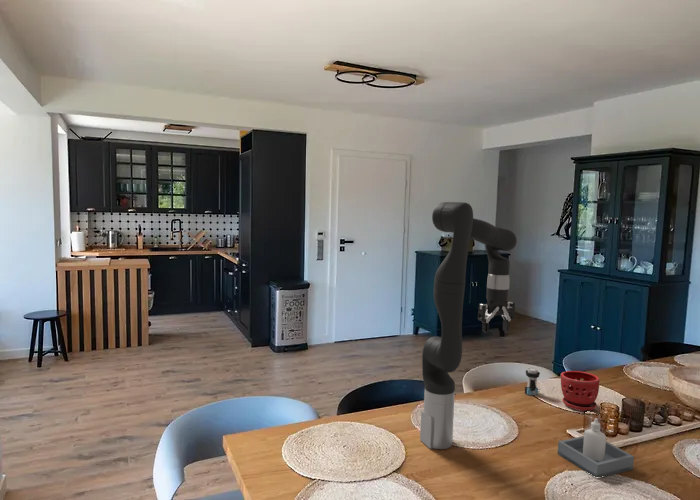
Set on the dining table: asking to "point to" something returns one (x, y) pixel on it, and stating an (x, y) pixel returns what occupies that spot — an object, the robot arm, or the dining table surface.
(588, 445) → the eye dropper bottle
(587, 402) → the plant pot
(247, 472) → the dining table surface
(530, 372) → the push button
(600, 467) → the tray
